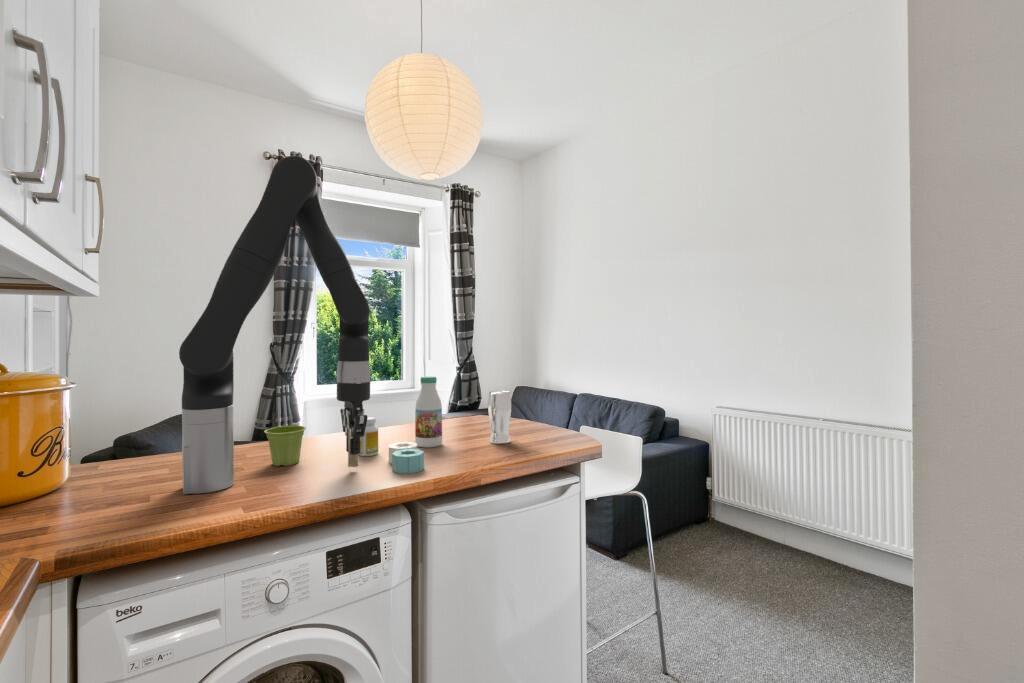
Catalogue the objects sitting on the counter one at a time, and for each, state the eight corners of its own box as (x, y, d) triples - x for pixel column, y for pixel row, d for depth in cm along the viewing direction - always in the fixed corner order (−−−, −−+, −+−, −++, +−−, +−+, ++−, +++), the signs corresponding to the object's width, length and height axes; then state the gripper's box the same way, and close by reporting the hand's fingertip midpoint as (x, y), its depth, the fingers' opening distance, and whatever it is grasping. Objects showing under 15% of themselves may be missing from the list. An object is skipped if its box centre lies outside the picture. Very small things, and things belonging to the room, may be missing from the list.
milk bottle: (414, 443, 144) (413, 376, 143) (439, 441, 146) (439, 375, 145) (417, 449, 136) (416, 378, 136) (444, 447, 138) (443, 377, 138)
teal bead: (400, 475, 111) (399, 458, 111) (388, 468, 117) (388, 451, 117) (427, 470, 115) (427, 453, 115) (415, 463, 121) (415, 447, 121)
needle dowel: (349, 467, 113) (350, 420, 113) (346, 465, 115) (347, 419, 114) (359, 466, 114) (359, 419, 114) (356, 464, 116) (356, 418, 116)
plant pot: (276, 470, 115) (276, 434, 115) (257, 464, 121) (257, 429, 120) (313, 462, 122) (312, 428, 122) (293, 456, 128) (293, 424, 128)
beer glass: (515, 441, 146) (515, 391, 145) (503, 445, 140) (503, 394, 140) (496, 438, 149) (496, 390, 149) (483, 442, 144) (483, 392, 143)
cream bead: (403, 465, 119) (402, 449, 119) (383, 461, 123) (382, 446, 122) (422, 459, 125) (422, 444, 125) (402, 455, 128) (402, 440, 128)
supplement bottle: (381, 451, 133) (381, 416, 133) (373, 456, 128) (373, 420, 127) (362, 451, 134) (362, 416, 133) (354, 456, 128) (354, 420, 128)
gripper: (329, 378, 117) (329, 449, 118) (346, 383, 106) (345, 461, 106) (360, 377, 122) (359, 445, 122) (379, 381, 110) (378, 457, 111)
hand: (353, 452), depth 114 cm, fingers closed on needle dowel, 2 cm apart
